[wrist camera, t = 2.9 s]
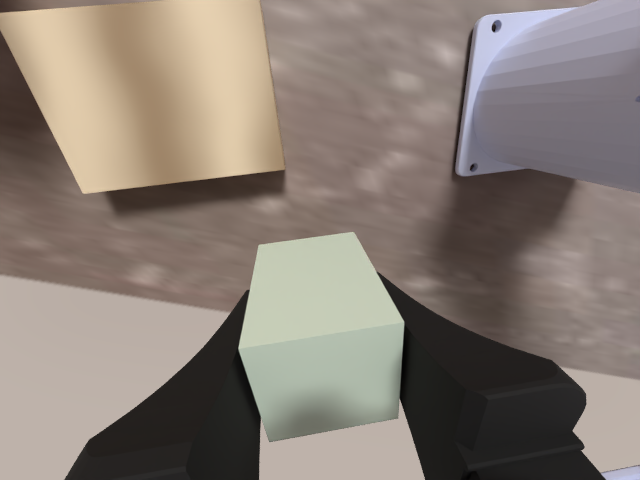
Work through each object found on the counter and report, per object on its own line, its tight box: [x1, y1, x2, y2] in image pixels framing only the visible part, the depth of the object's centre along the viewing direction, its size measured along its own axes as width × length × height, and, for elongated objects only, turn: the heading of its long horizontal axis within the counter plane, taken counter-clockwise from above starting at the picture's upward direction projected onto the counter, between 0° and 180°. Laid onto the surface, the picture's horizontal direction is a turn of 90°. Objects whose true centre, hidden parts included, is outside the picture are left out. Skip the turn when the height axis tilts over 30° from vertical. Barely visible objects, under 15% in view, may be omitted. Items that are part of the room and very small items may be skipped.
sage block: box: [238, 232, 404, 442], centre depth 11 cm, size 4×4×6 cm
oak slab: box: [0, 0, 285, 194], centre depth 13 cm, size 10×7×2 cm
